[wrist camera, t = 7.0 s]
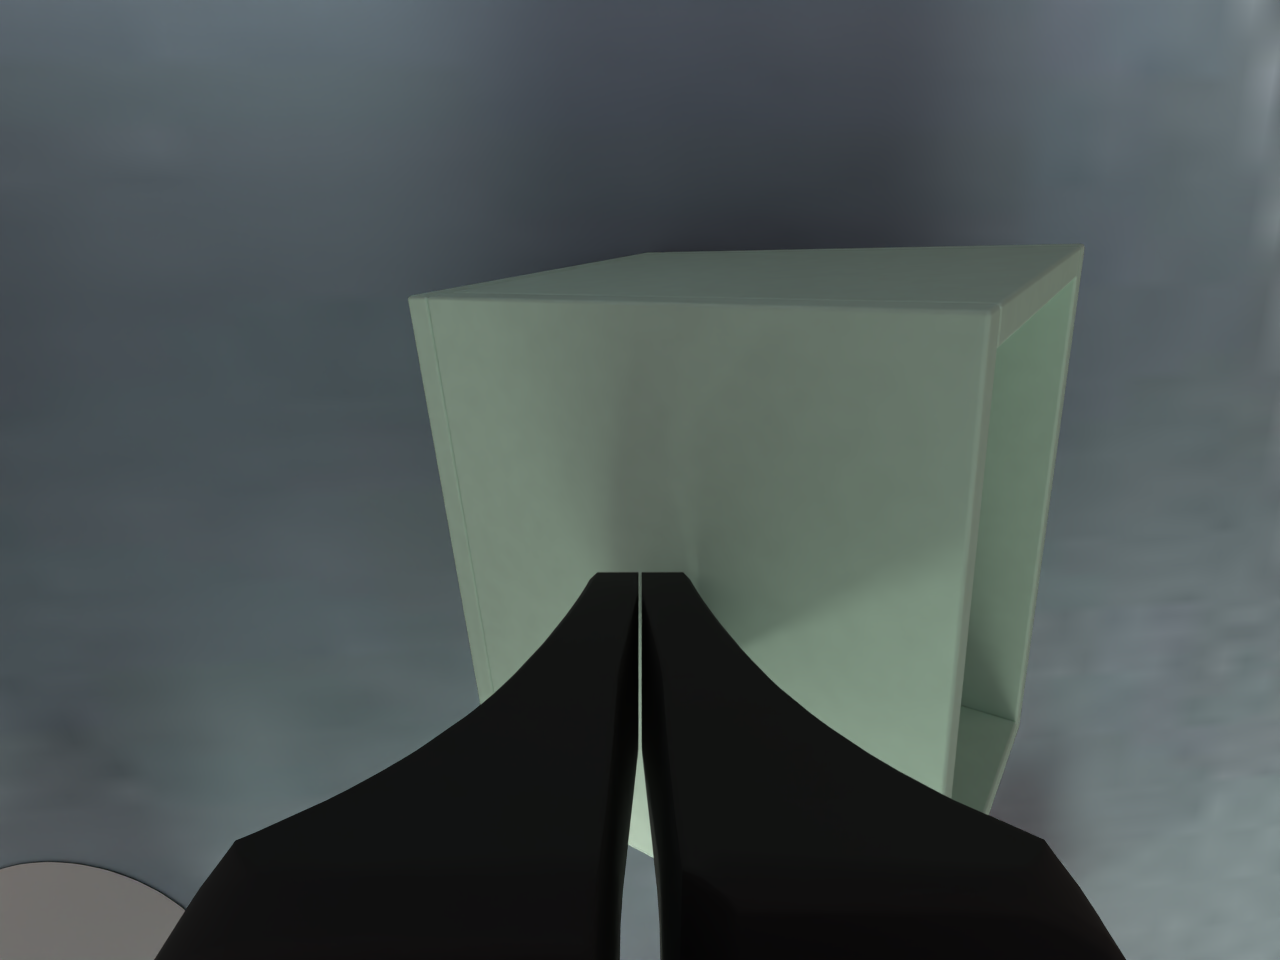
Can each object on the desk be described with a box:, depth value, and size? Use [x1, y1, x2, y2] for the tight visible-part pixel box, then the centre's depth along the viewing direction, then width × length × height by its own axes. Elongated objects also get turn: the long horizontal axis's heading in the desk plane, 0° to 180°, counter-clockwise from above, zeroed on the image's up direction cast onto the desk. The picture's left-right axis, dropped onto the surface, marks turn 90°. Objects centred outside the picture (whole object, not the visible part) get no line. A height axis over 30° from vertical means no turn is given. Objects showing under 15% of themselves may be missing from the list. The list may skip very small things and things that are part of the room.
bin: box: [408, 244, 1085, 858], centre depth 14 cm, size 7×10×9 cm
